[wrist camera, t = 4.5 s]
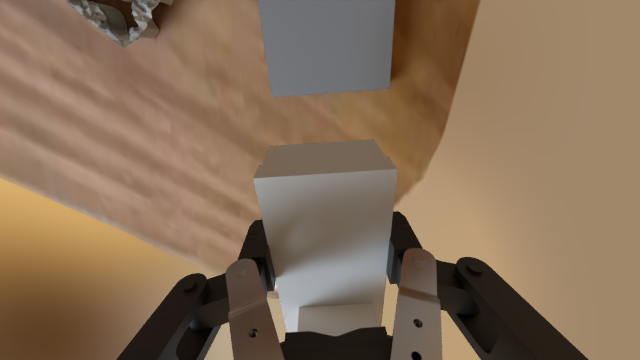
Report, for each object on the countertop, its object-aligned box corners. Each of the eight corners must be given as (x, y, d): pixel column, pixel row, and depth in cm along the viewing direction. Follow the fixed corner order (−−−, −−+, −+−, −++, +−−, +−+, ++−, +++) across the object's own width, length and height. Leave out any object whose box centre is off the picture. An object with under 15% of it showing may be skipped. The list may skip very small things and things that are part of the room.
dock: (253, -67, 19) (244, -82, 17) (392, -78, 19) (402, -95, 17) (276, 93, 25) (272, 97, 23) (383, 85, 25) (390, 88, 22)
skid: (269, 142, 13) (253, 178, 9) (374, 135, 13) (397, 169, 9) (295, 291, 18) (290, 348, 15) (366, 287, 18) (379, 343, 15)
